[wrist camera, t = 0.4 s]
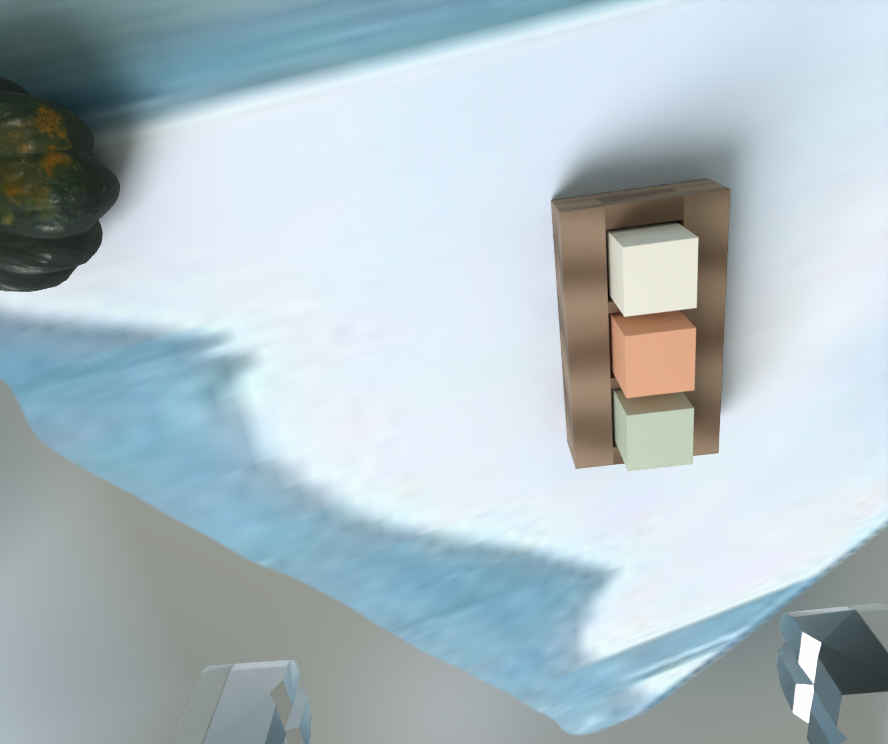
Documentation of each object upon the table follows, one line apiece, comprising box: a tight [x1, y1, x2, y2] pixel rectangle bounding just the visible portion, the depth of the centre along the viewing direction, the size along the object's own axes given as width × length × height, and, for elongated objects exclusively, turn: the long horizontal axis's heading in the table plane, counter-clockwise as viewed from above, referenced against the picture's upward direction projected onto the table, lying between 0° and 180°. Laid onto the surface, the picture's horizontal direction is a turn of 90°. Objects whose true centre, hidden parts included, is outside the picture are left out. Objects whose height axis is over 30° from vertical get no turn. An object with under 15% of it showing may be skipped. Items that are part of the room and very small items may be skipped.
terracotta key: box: [610, 310, 696, 398], centre depth 50 cm, size 5×5×5 cm
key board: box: [551, 179, 730, 469], centre depth 54 cm, size 22×12×4 cm, turn 8°
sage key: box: [612, 388, 694, 471], centre depth 53 cm, size 5×5×5 cm
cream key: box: [607, 221, 698, 317], centre depth 48 cm, size 5×5×5 cm
